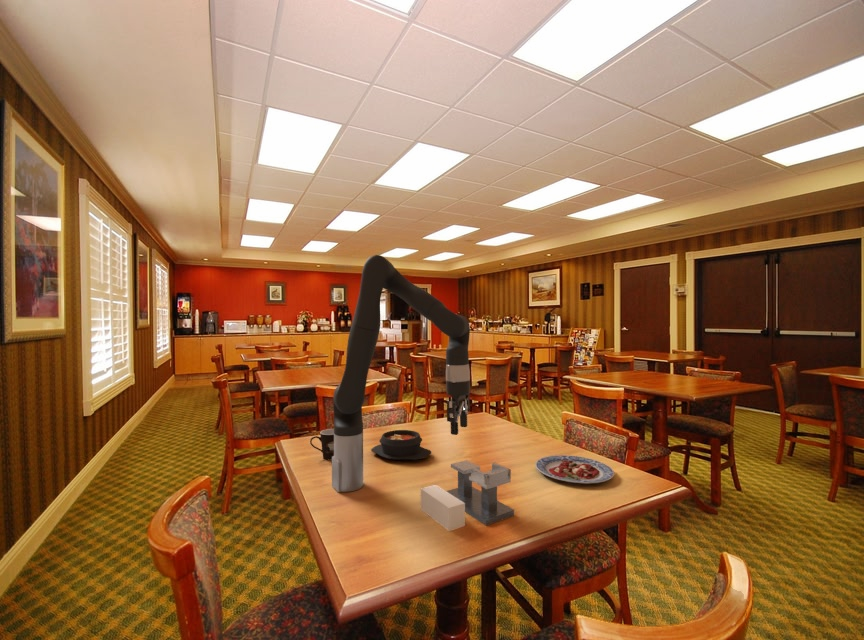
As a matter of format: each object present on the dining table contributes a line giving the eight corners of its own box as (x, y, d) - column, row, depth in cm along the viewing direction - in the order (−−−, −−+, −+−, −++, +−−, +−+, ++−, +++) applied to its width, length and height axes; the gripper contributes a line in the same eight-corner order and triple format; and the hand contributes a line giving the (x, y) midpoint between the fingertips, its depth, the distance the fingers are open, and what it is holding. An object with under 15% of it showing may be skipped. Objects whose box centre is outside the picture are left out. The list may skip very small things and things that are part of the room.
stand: (485, 525, 102) (485, 477, 102) (442, 497, 118) (442, 455, 118) (514, 515, 107) (513, 469, 107) (468, 489, 124) (468, 449, 124)
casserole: (439, 453, 158) (439, 432, 158) (416, 468, 142) (416, 445, 142) (387, 444, 170) (387, 425, 170) (361, 458, 153) (361, 436, 154)
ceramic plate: (552, 456, 155) (552, 448, 155) (622, 471, 139) (622, 463, 139) (522, 476, 135) (522, 467, 135) (600, 496, 119) (600, 486, 119)
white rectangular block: (449, 531, 99) (449, 508, 99) (420, 509, 111) (420, 488, 111) (464, 526, 102) (464, 503, 102) (435, 505, 113) (435, 484, 114)
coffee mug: (345, 454, 158) (345, 429, 158) (338, 461, 149) (338, 435, 150) (317, 453, 159) (317, 428, 159) (309, 460, 151) (309, 434, 151)
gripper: (454, 375, 131) (455, 423, 131) (437, 381, 117) (439, 436, 118) (476, 375, 128) (477, 425, 128) (461, 382, 114) (463, 438, 115)
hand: (459, 430), depth 123 cm, fingers open, 8 cm apart
